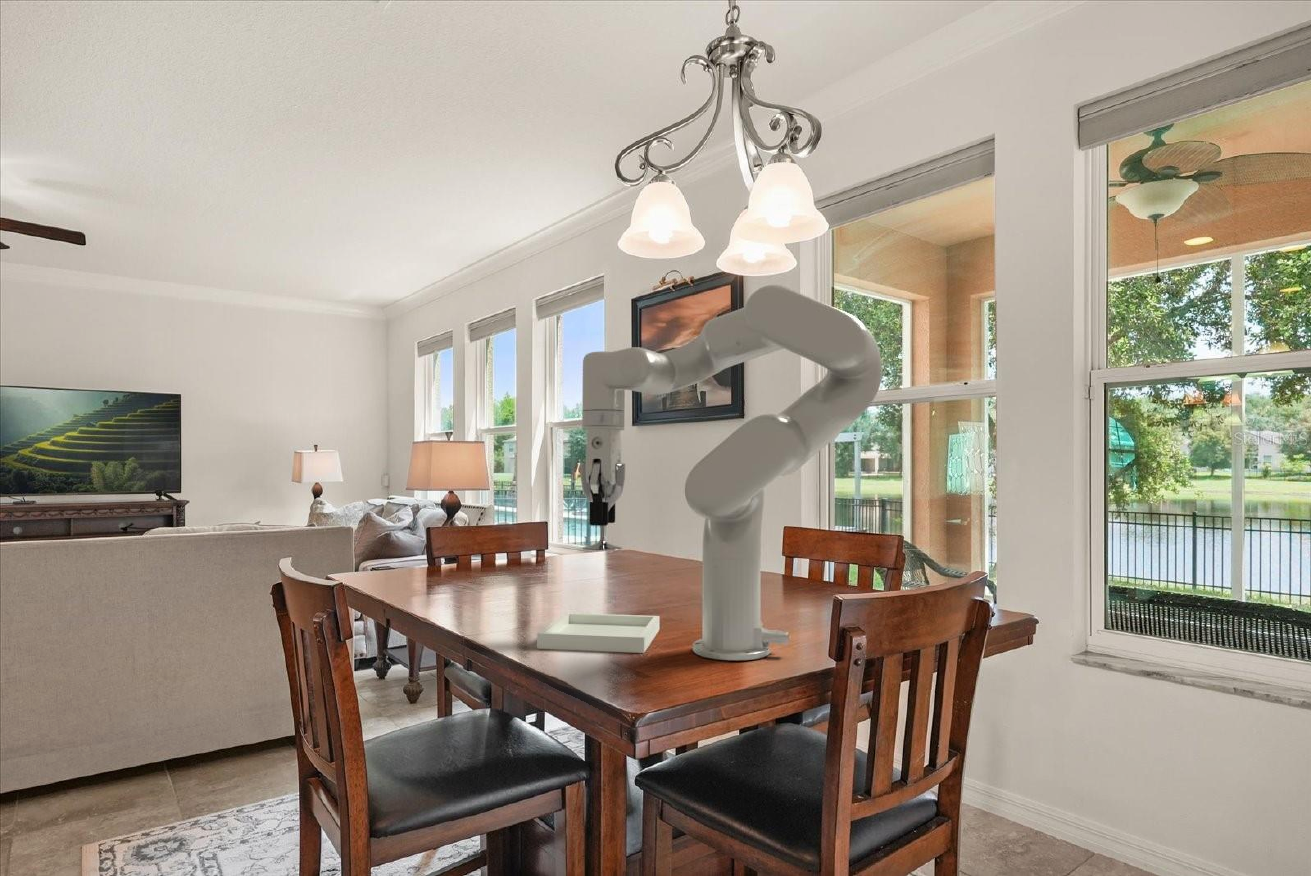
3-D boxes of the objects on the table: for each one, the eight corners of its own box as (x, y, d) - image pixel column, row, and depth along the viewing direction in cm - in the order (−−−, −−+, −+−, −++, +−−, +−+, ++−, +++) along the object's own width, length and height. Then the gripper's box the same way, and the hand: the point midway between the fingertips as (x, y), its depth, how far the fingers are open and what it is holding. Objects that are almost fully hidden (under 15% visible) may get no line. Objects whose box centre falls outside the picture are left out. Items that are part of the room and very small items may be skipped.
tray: (659, 629, 142) (659, 616, 142) (644, 653, 124) (644, 637, 124) (565, 626, 144) (565, 612, 144) (537, 648, 126) (537, 633, 127)
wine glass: (596, 545, 140) (597, 463, 141) (633, 547, 136) (633, 463, 137) (570, 548, 133) (571, 463, 134) (608, 551, 129) (608, 463, 130)
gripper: (614, 418, 126) (613, 528, 126) (632, 424, 143) (631, 521, 143) (570, 419, 128) (569, 527, 127) (593, 424, 145) (592, 520, 144)
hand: (602, 522), depth 135 cm, fingers closed on wine glass, 5 cm apart
